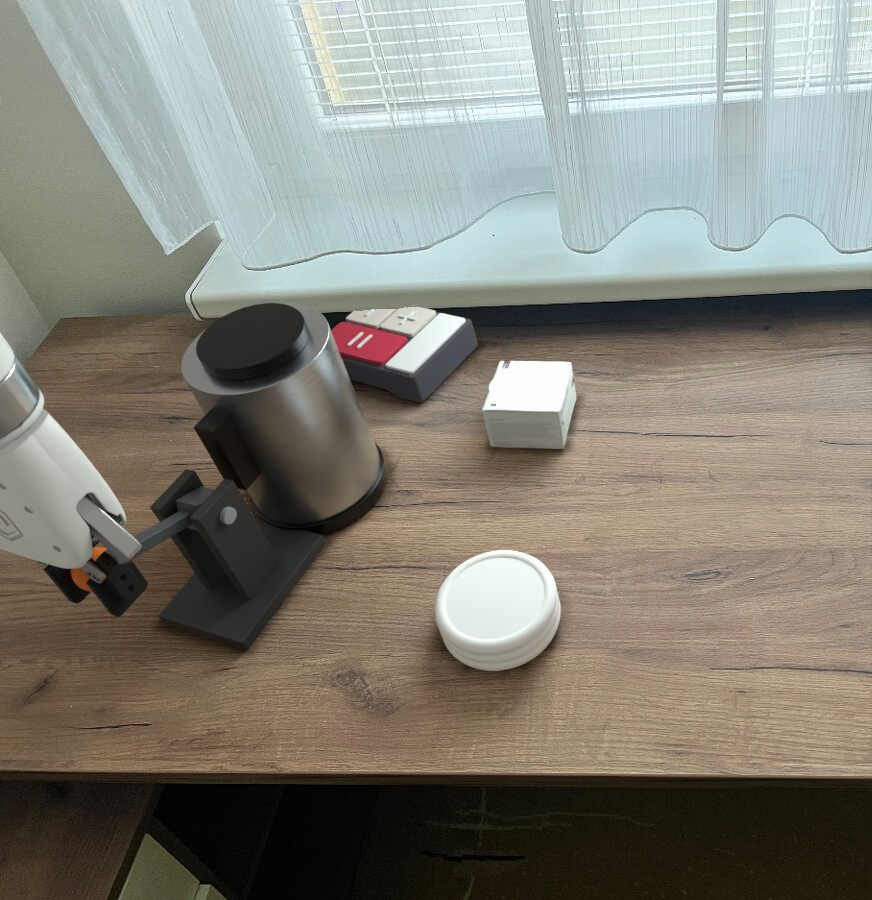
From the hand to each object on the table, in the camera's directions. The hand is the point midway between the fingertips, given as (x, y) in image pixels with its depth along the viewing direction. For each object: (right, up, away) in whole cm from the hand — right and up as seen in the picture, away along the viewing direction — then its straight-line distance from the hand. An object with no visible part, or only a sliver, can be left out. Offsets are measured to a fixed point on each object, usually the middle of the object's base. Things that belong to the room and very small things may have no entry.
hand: (109, 592), depth 64 cm
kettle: (+9, +7, +22) cm, 24 cm away
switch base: (+5, -1, +14) cm, 15 cm away
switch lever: (+2, +2, +3) cm, 4 cm away
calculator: (+13, +21, +36) cm, 43 cm away
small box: (+29, +13, +26) cm, 41 cm away
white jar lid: (+28, -4, +9) cm, 29 cm away
